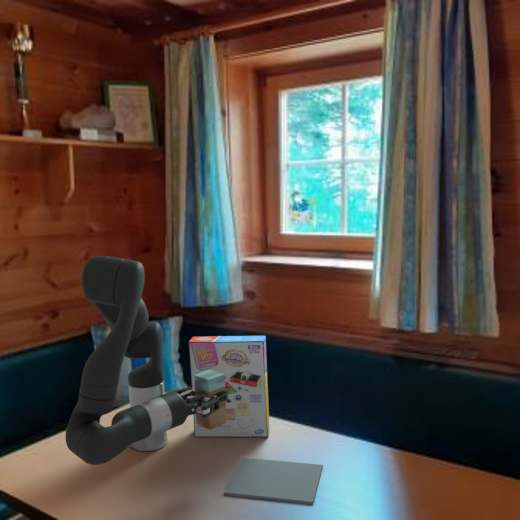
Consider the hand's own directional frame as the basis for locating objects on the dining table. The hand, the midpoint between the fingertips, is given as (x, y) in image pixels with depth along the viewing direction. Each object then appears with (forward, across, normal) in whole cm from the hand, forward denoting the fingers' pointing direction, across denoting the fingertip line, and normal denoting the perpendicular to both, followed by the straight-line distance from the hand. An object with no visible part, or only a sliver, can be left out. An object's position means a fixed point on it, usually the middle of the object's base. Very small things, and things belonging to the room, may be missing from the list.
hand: (218, 391), depth 132 cm
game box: (+15, +13, +20) cm, 28 cm away
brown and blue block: (-3, 0, +7) cm, 7 cm away
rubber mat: (+5, -13, +20) cm, 24 cm away
